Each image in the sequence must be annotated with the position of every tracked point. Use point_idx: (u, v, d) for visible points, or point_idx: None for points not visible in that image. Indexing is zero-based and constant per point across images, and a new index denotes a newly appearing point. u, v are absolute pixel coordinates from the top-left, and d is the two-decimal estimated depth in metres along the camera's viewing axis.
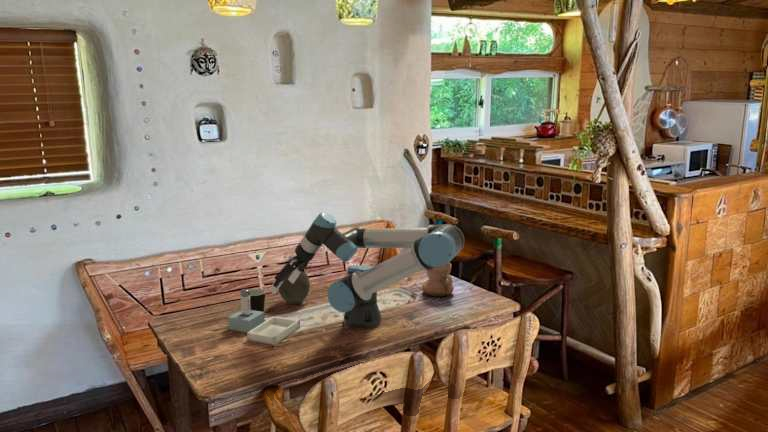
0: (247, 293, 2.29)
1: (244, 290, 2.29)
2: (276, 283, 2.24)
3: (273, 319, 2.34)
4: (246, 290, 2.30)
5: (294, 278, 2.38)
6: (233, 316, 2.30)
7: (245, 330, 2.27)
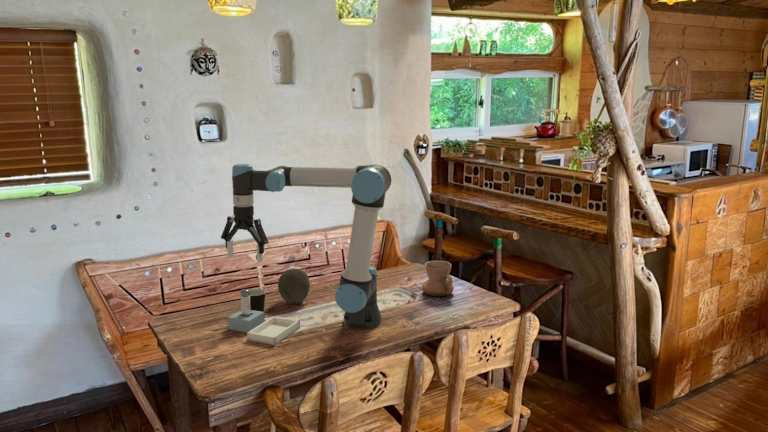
0: (247, 293, 2.29)
1: (244, 290, 2.29)
2: (263, 248, 2.24)
3: (273, 319, 2.34)
4: (246, 290, 2.30)
5: (232, 250, 2.30)
6: (233, 316, 2.30)
7: (245, 330, 2.27)
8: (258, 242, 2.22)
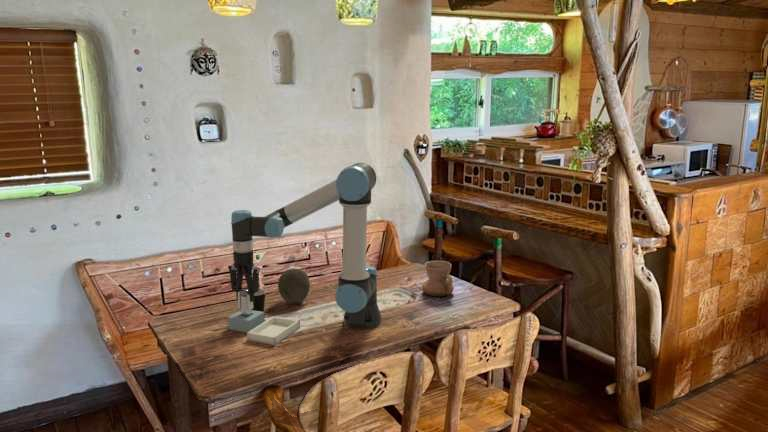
0: (247, 293, 2.29)
1: (244, 290, 2.29)
2: (253, 296, 2.29)
3: (273, 319, 2.34)
4: (246, 290, 2.30)
5: None
6: (233, 316, 2.30)
7: (245, 330, 2.27)
8: (249, 290, 2.28)
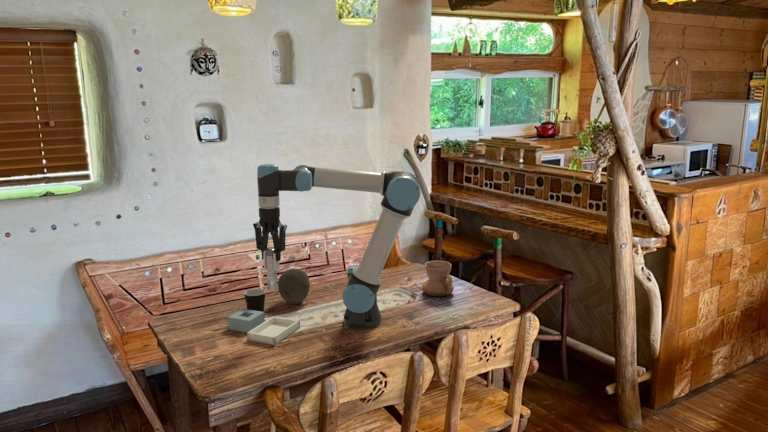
0: (273, 252, 2.18)
1: (270, 249, 2.19)
2: (279, 256, 2.18)
3: (273, 319, 2.34)
4: (272, 249, 2.19)
5: None
6: (233, 316, 2.30)
7: (245, 330, 2.27)
8: (276, 249, 2.17)
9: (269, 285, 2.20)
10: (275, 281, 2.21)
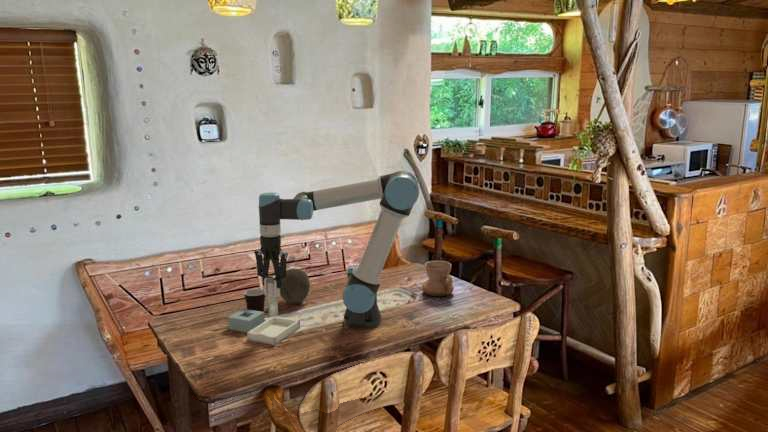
0: (274, 279, 2.20)
1: (271, 277, 2.21)
2: (280, 283, 2.21)
3: (273, 319, 2.34)
4: (273, 276, 2.21)
5: None
6: (233, 316, 2.30)
7: (245, 330, 2.27)
8: (276, 276, 2.19)
9: (270, 312, 2.23)
10: (276, 308, 2.23)
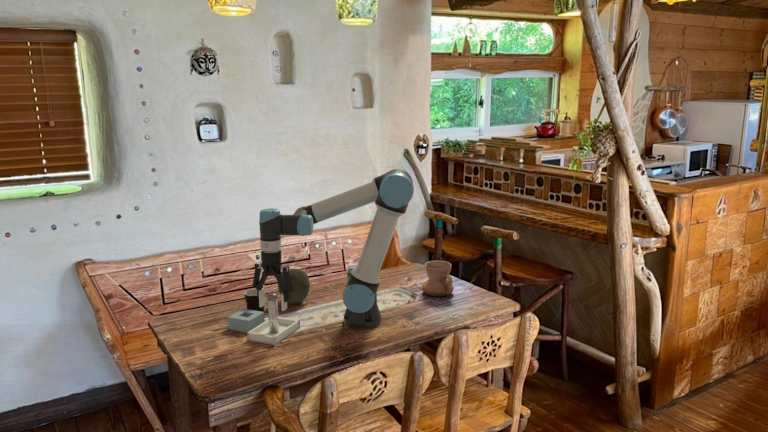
0: (274, 297, 2.22)
1: (271, 295, 2.22)
2: (287, 296, 2.21)
3: None
4: (273, 294, 2.23)
5: (263, 299, 2.26)
6: (233, 316, 2.30)
7: (245, 330, 2.27)
8: (283, 290, 2.19)
9: (271, 329, 2.24)
10: (277, 325, 2.24)
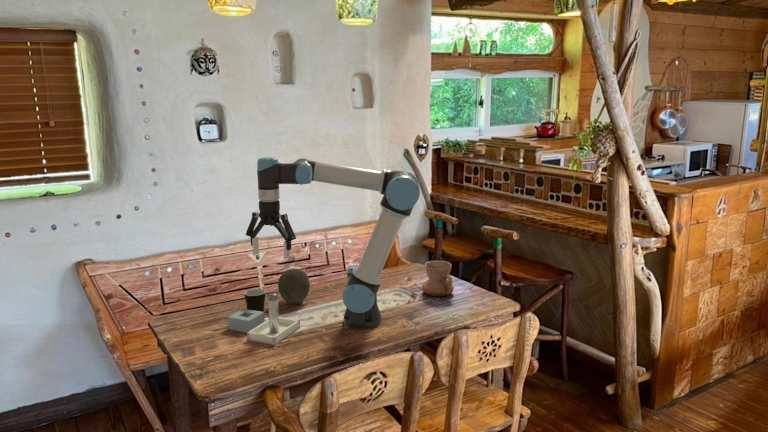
0: (275, 297, 2.22)
1: (272, 295, 2.22)
2: (290, 244, 2.16)
3: None
4: (274, 294, 2.23)
5: (257, 247, 2.22)
6: (233, 316, 2.30)
7: (245, 330, 2.27)
8: (285, 238, 2.14)
9: (271, 329, 2.24)
10: (277, 325, 2.24)
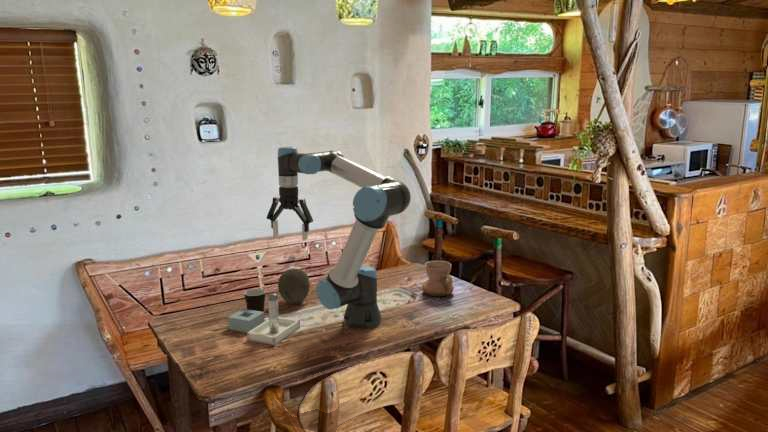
0: (275, 297, 2.22)
1: (272, 295, 2.22)
2: (308, 227, 2.35)
3: None
4: (274, 294, 2.23)
5: (277, 230, 2.42)
6: (233, 316, 2.30)
7: (245, 330, 2.27)
8: (303, 221, 2.34)
9: (271, 329, 2.24)
10: (277, 325, 2.24)
